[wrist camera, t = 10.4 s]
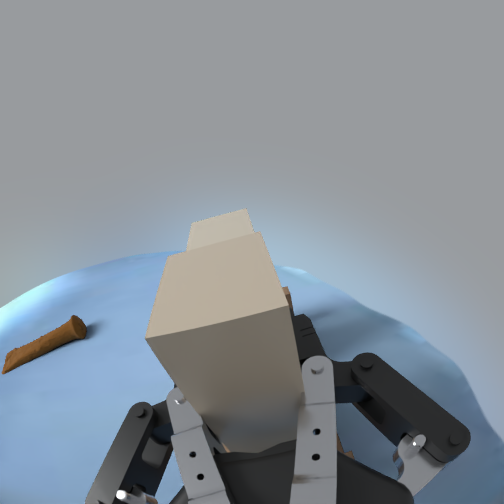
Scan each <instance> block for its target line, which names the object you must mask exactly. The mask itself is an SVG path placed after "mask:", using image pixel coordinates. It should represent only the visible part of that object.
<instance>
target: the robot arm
mask: <svg viewBox="0 0 504 504" xmlns="http://www.w3.org/2000/svg"><path fill="white" fill-rule="evenodd" d="M289 310H290V315H291V320H292V325H293V330H294V335H295V341H296V346H297V352H298V357H299V362H300V368H301V373H302V379H303V385H304V390H305V392H301V402H300V405H299V410H298V426H297V439H295V440H291V441H287V442H282V443H279V444H277V445H275V446H273V447H271V448H268V449H266V450H264V451H261V452H259V453H247V452H228V453H227V451H226V450H225V448H224V446H223V444H222V441H221V439H220V437H219V436H218V435H217V434H214V433H213V431H212V430H211V429H210V428H209V427H208V425H207V424H206V422H205V419H204V418H203V417H202V415H201V414H198V413H197V412H196V411H195V409H194V408H193V407H192V406H191V404H190V403H189V402H188V400H187V399H186V398H185V396H184V395H183V394H182V392H181V391H180V390H179V388H178V387H177V386H176V384H174V389H173V390H171V391H170V392H169V394H168V395H167V399H166V400H165V401H163V402H161V403H158V404H156V405H153V406H151V405H150V404H149V403H147V402H139V403H136V404H135V405H133V406H132V407H131V408H130V410H129V412H128V414H127V416H126V418H125V420H124V422H123V424H122V426H121V428H120V430H119V432H118V433H117V435H116V437H115V439H114V441H113V443H112V445H111V447H110V449H109V451H108V453H107V456H106V458H105V460H104V462H103V464H102V466H101V468H100V470H99V472H98V474H97V476H96V478H95V480H94V482H93V485H92V487H91V489H90V491H89V493H88V495H87V497H86V500H85V504H158V502H157V500H156V499H155V494H156V492H157V489H158V487H159V484H160V481H161V479H162V476H163V474H164V471H165V469H166V466H167V464H168V461H169V459H170V456H171V454H172V451H173V449H174V452H175V456H176V460H177V463H178V467H179V470H180V473H181V476H182V480H183V483H184V486H183V487H182V488H181V490H180V491H179V492H178V493H177V495H176V496H175V497H174V498H173V500H172V501H171V502H170V503H169V504H414V499H413V496H415V495H416V494H417V493H418V492H419V491H420V490H421V489H422V488H423V487H424V486H425V485H426V484H428V483H429V482H430V481H431V480H432V479H433V478H434V477H435V476H436V475H437V474H438V473H439V472H440V471H441V470H442V469H444V468H445V467H446V466H447V465H448V464H450V463H451V462H452V461H453V460H454V459H456V458H457V457H458V456H459V455H460V454H461V453H462V452H464V451H465V450H466V448H467V447H468V445H469V443H470V439H471V436H470V432H469V430H468V428H467V427H466V426H464V425H463V424H462V423H461V422H459V421H458V420H457V419H456V418H454V417H453V416H452V415H451V414H449V413H448V412H447V411H446V410H444V409H443V408H442V407H441V406H439V405H438V404H437V403H436V402H434V401H433V400H432V399H431V398H429V397H428V396H427V395H426V394H424V393H423V392H422V391H421V390H419V389H418V388H417V387H416V386H414V385H413V384H412V383H411V382H409V381H408V380H407V379H406V378H404V377H403V376H402V375H401V374H399V373H398V372H397V371H396V370H394V369H393V368H392V367H391V366H390V365H388V364H387V363H386V362H385V361H383V360H382V359H381V358H380V357H378V356H377V355H375V354H373V353H362V354H359V355H357V356H356V357H355V358H354V359H353V361H350V362H337V361H333V360H331V359H329V358H328V357H327V356H326V354H325V352H324V350H323V347H322V345H321V343H320V340H319V338H318V336H317V334H316V331H315V329H314V327H313V325H312V322H311V320H310V319H309V318H308V317H307V316H305V315H304V314H301V315H298V316H294V313H293V311H292V308H291V307H290V308H289ZM335 403H352V404H353V405H354V406H355V407H356V408H357V409H358V410H359V411H360V412H361V413H362V414H363V415H364V416H365V417H366V418H367V419H368V420H369V421H370V422H371V423H372V424H373V425H374V426H375V427H376V428H377V429H378V430H379V431H380V432H381V433H382V434H383V435H385V436H386V437H387V438H388V439H389V440H390V441H391V442H392V443H393V444H394V445H395V446H396V447H397V448H396V450H395V451H394V454H393V461H394V463H395V465H396V466H397V468H398V471H399V475H398V479H397V481H396V480H394V479H392V478H390V477H388V476H386V475H383V474H381V473H379V472H377V471H375V470H373V469H371V468H369V467H367V466H365V465H363V464H362V463H360V462H358V461H356V460H354V459H352V458H350V457H349V456H347V455H345V454H343V453H341V452H340V451H338V450H337V438H336V406H335Z"/></svg>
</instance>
